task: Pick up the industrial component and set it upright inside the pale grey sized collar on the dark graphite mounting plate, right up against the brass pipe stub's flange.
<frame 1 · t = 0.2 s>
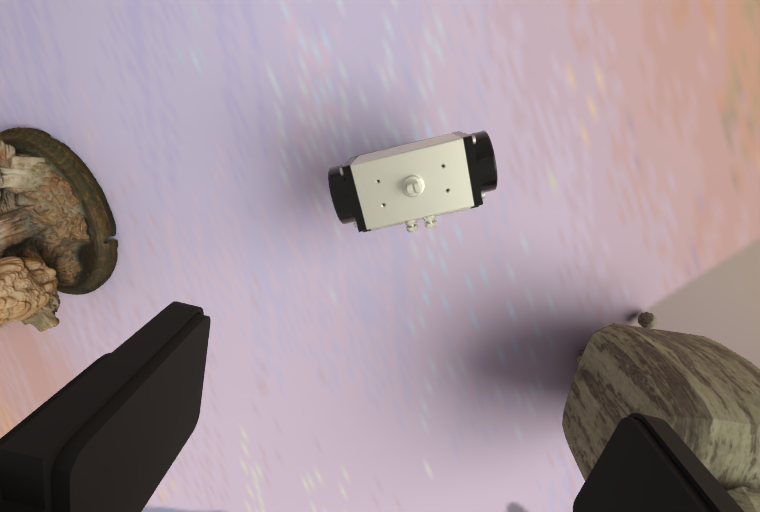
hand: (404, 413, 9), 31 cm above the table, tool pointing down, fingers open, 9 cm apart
pneumatic valve: (409, 170, 38), on the table
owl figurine: (61, 218, 41), on the table
tabletop clock: (598, 355, 44), on the table
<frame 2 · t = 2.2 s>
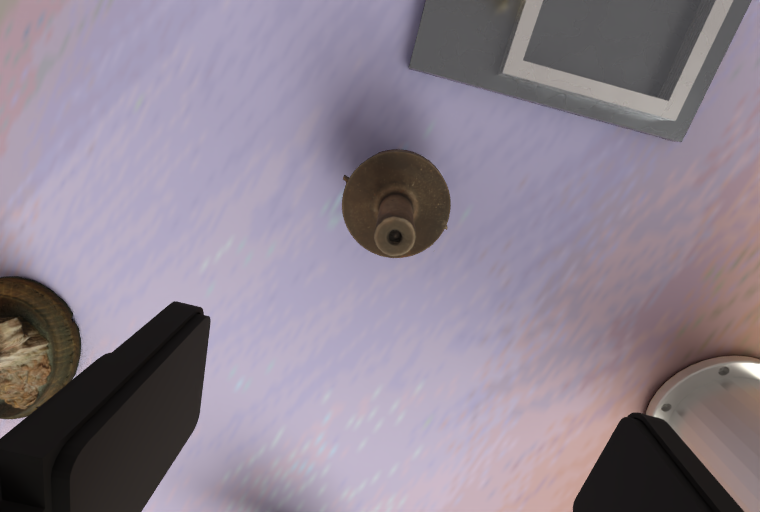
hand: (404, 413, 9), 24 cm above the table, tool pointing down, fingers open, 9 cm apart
industrial component: (403, 198, 32), on the table
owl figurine: (16, 351, 39), on the table
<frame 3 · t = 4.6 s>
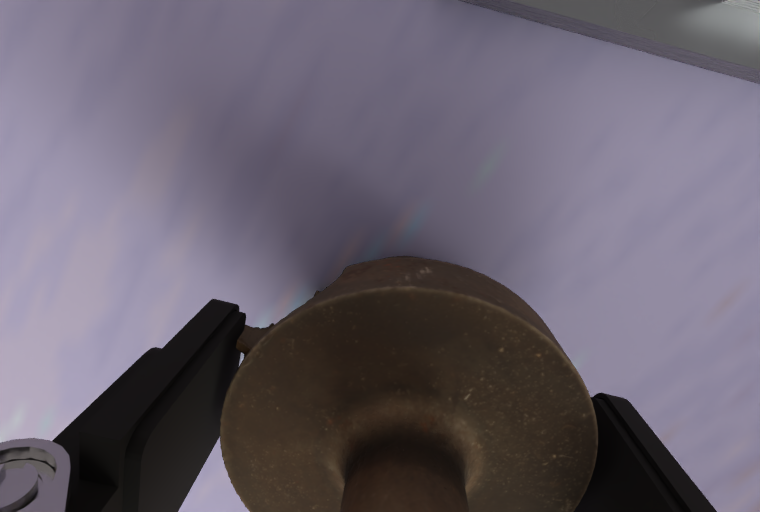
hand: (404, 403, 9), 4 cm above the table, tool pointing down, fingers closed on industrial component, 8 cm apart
industrial component: (421, 336, 13), on the table, touching gripper
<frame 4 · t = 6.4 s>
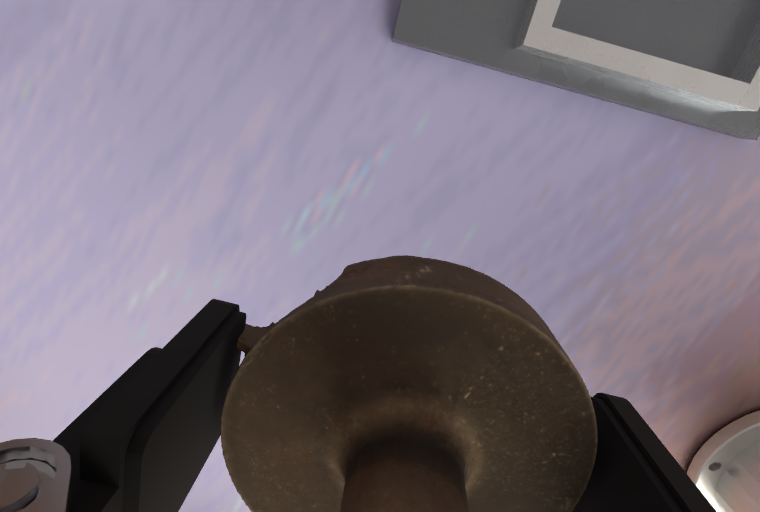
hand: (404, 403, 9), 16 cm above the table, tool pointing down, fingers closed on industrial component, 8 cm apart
industrial component: (421, 335, 13), point 12 cm above the table, touching gripper
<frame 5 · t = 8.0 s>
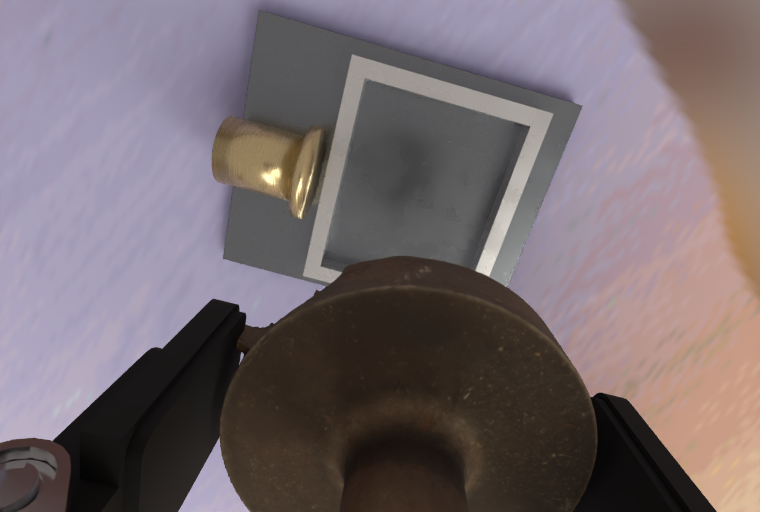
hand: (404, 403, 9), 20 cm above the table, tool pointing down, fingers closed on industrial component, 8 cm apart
industrial component: (420, 336, 13), point 16 cm above the table, touching gripper
mounting plate: (388, 185, 28), on the table
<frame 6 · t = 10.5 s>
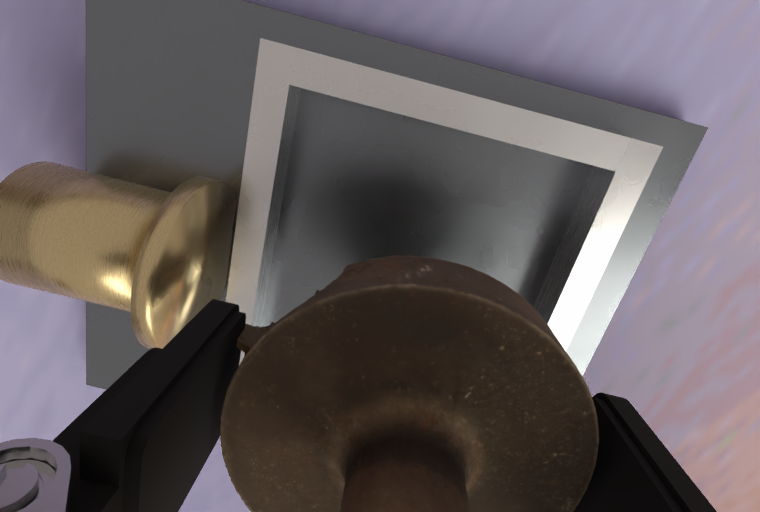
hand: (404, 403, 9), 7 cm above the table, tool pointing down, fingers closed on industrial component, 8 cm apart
industrial component: (421, 335, 13), point 4 cm above the table, touching gripper
mounting plate: (353, 266, 16), on the table
when the fingers open (7 cm above the table, at t = 11.7 s): industrial component drops 2 cm, resting on mounting plate.
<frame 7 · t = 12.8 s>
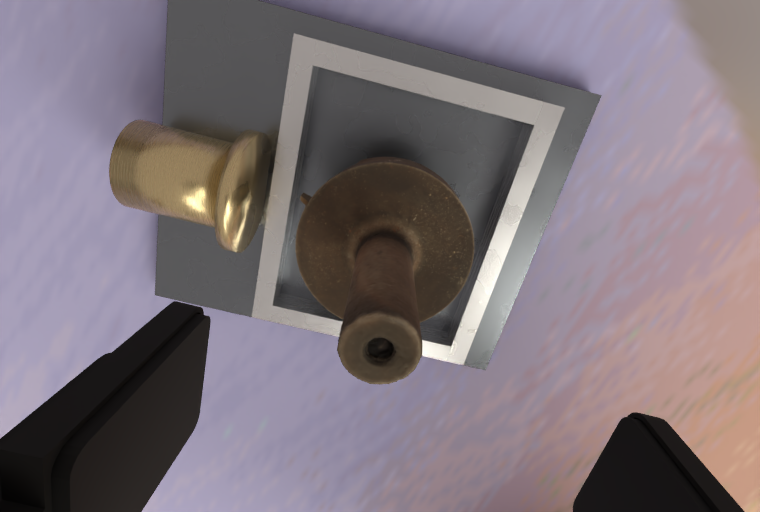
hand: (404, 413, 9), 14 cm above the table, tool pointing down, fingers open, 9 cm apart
industrial component: (396, 225, 22), point 1 cm above the table, touching mounting plate
mounting plate: (355, 201, 22), on the table
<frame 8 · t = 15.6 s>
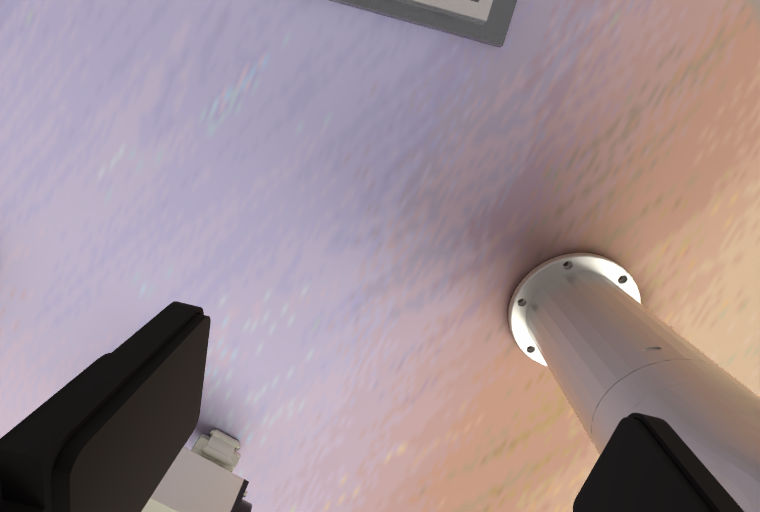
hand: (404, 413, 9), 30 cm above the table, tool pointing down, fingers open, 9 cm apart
pneumatic valve: (221, 443, 49), on the table
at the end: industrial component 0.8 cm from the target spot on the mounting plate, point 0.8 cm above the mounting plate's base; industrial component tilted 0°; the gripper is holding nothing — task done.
